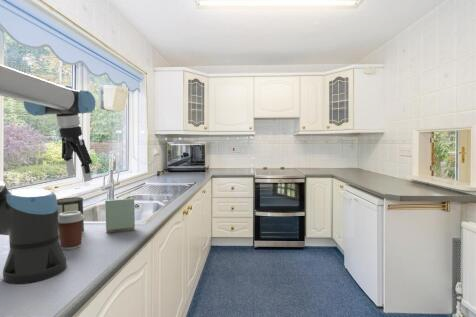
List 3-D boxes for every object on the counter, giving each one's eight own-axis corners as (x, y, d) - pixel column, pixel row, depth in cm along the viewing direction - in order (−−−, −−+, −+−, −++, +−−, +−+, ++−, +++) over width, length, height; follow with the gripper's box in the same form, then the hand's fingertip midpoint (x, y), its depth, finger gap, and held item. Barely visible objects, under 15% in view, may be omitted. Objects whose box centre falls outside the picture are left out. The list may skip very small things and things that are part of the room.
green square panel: (134, 227, 126) (134, 198, 125) (106, 230, 122) (105, 200, 121) (134, 226, 127) (133, 198, 126) (106, 229, 123) (105, 200, 122)
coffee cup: (67, 252, 102) (65, 217, 101) (50, 248, 106) (49, 214, 105) (91, 244, 110) (90, 211, 109) (75, 240, 114) (73, 209, 113)
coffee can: (73, 228, 129) (71, 196, 128) (89, 231, 125) (88, 198, 124) (49, 235, 120) (47, 200, 119) (66, 239, 116) (65, 202, 115)
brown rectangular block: (134, 229, 128) (134, 215, 127) (106, 232, 123) (105, 218, 123) (134, 228, 129) (133, 214, 129) (106, 231, 125) (105, 217, 125)
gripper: (95, 126, 113) (104, 180, 118) (65, 123, 127) (74, 171, 133) (75, 130, 107) (85, 186, 112) (46, 125, 122) (56, 175, 127)
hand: (79, 178), depth 123 cm, fingers open, 13 cm apart
